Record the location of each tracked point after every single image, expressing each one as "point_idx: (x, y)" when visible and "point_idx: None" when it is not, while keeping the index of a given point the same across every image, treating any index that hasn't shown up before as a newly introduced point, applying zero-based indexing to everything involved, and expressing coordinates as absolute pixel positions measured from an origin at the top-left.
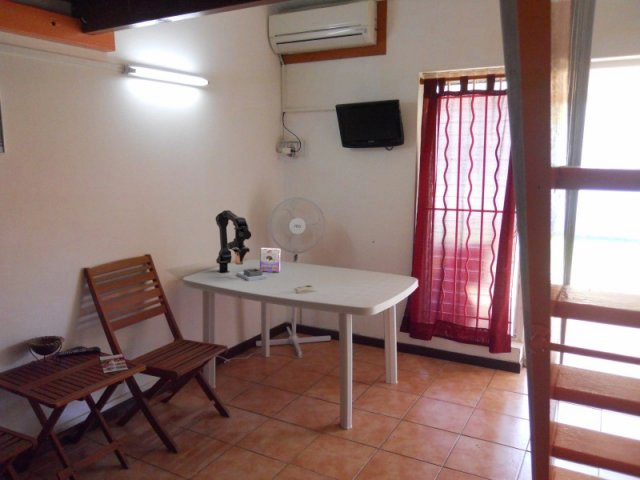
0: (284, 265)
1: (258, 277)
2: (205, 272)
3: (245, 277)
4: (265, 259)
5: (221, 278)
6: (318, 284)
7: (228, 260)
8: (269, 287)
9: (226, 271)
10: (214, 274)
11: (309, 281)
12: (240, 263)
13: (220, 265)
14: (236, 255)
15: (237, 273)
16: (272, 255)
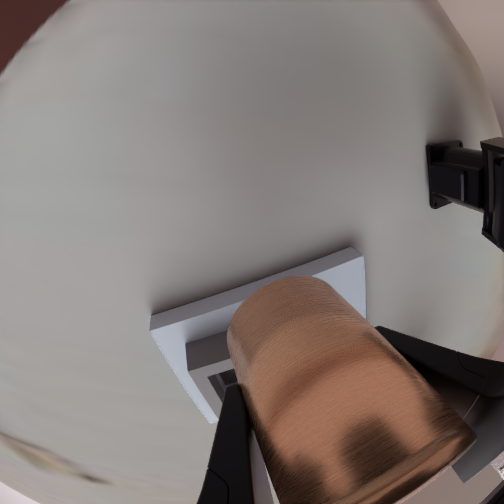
0: None
1: (186, 388)
2: (442, 63)
3: (206, 307)
4: None
5: (278, 94)
6: (121, 494)
7: (494, 221)
8: (22, 388)
9: (431, 185)
10: (402, 88)
11: (159, 490)
12: (232, 361)
13: (475, 153)
14: (332, 427)
15: (355, 253)
16: None
